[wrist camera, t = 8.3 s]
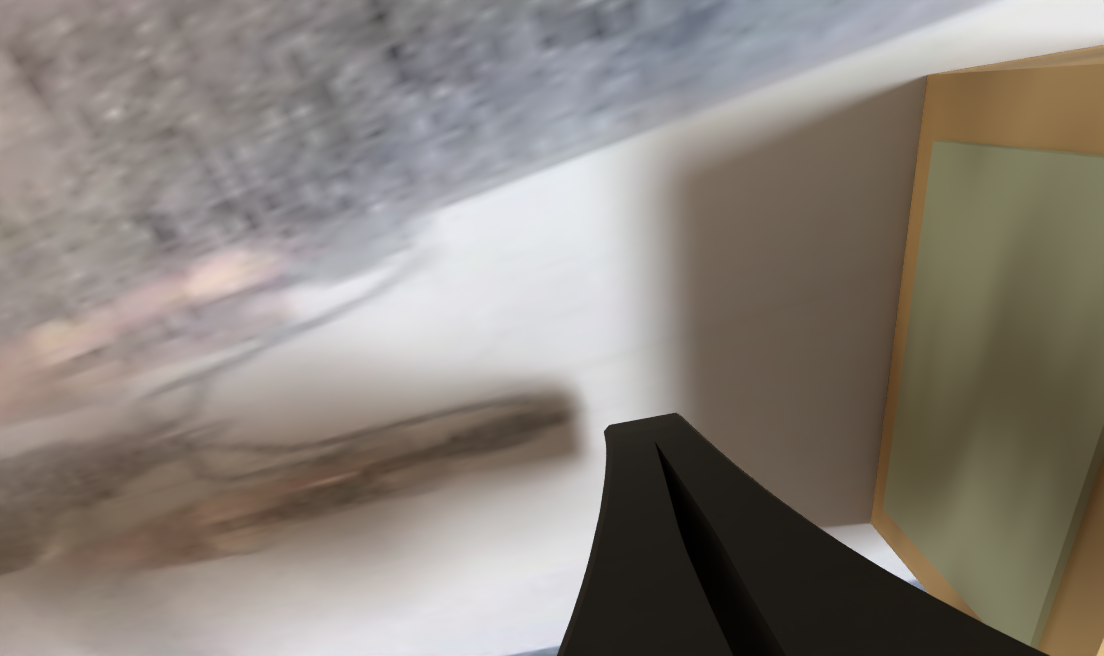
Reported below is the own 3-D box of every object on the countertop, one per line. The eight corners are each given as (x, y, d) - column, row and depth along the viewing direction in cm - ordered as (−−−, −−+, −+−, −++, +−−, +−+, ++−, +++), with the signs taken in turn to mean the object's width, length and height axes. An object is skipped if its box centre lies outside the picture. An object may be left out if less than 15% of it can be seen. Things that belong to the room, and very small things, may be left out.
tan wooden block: (1027, 492, 13) (1310, 710, 8) (860, 519, 13) (1048, 750, 8) (1156, 35, 9) (1849, -37, 4) (911, 76, 9) (1333, 50, 4)
